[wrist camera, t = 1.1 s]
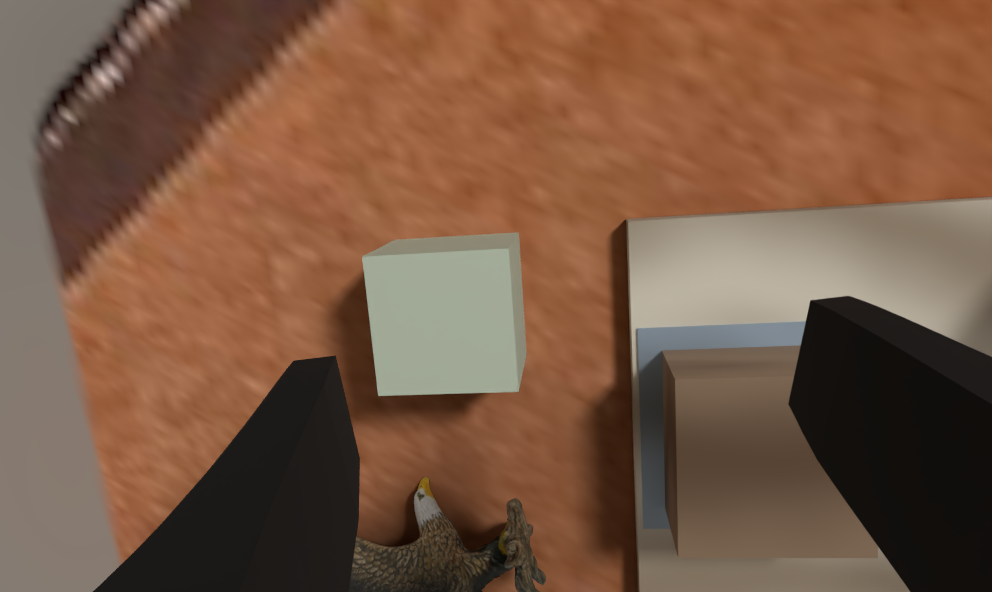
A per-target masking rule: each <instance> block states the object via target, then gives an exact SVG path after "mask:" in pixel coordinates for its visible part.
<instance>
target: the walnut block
mask: <svg viewBox="0 0 992 592" xmlns="http://www.w3.org/2000/svg"><path fill="white" fill-rule="evenodd" d="M800 346H801V345H797V346H769V347H742V348H715V349H688V350H662V380H663V427H664V474H665V510H666V514H667V517H668V521H669V525H670V529H671V533H672V536H673V540H674V544H675V548H676V551H677V555H678V558H878V546H877V544H876V543H875V542H874V540H873V539H872V537H871V536H870V535H869V533H868V532H867V530H866V529H865V528H864V526H863V525H862V523H861V522H860V521H859V519H858V518H857V516H856V515H855V514H854V512H853V511H852V509H851V508H850V507H849V505H848V504H847V502H846V501H845V499H844V498H843V497H842V495H841V494H840V492H839V491H838V489H837V488H836V487H835V485H834V484H833V482H832V481H831V479H830V478H829V477H828V475H827V474H826V472H825V471H824V469H823V468H822V466H821V465H820V463H819V462H818V460H817V459H816V457H815V455H814V453H813V451H812V449H811V448H810V446H809V444H808V442H807V440H806V438H805V437H804V435H803V433H802V431H801V429H800V427H799V425H798V423H797V420H796V418H795V416H794V414H793V412H792V410H791V408H790V406H789V404H788V403H789V398H790V393H791V388H792V384H793V379H794V374H795V370H796V365H797V360H798V356H799V351H800Z"/></svg>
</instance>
